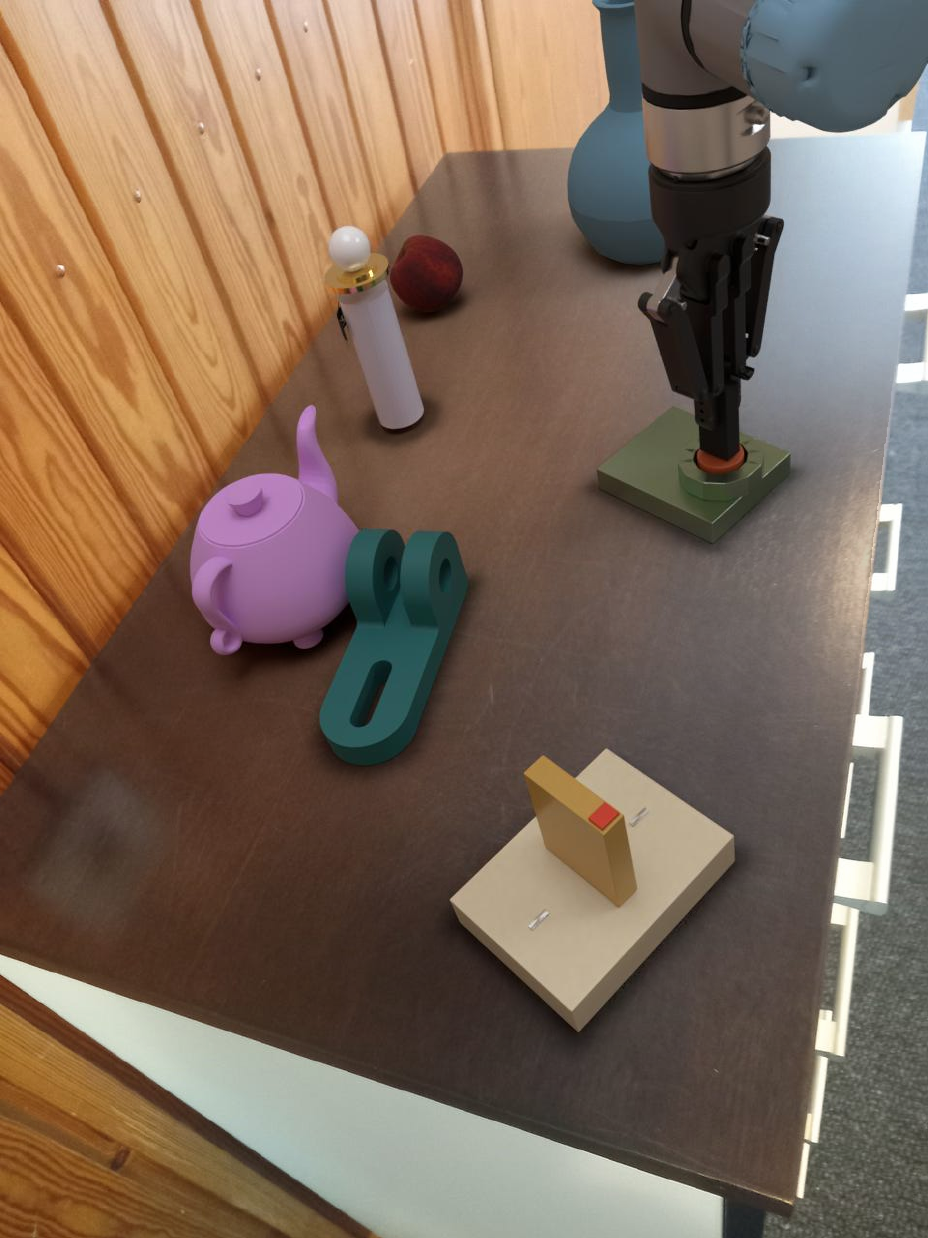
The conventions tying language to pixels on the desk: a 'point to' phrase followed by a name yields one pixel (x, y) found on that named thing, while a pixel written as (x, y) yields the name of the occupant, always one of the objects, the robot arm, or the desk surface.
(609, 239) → the vase
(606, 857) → the tan box with red
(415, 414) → the perfume bottle
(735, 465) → the bell button
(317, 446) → the teapot
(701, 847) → the lock plate
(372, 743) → the bracket
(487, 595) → the desk surface
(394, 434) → the desk surface
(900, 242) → the desk surface
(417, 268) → the peach
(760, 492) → the box
